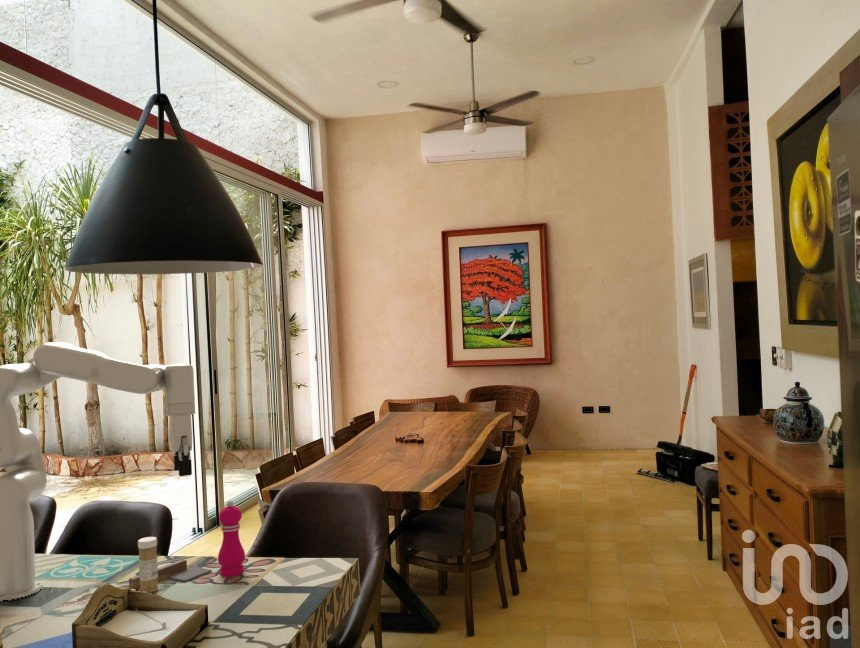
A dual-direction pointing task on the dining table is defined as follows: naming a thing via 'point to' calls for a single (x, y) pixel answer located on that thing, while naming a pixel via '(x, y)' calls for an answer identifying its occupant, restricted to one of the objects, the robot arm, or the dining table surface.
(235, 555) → the pepper mill
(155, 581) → the sprinkles bottle
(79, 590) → the dining table surface
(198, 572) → the end pad
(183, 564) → the guide rail
